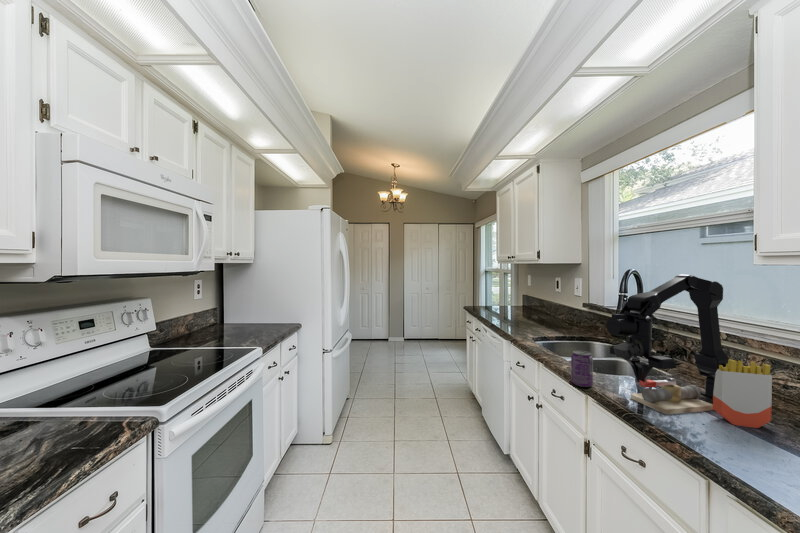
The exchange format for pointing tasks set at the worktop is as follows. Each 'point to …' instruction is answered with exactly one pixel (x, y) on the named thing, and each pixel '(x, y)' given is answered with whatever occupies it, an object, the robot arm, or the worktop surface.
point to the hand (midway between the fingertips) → (639, 382)
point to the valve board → (675, 406)
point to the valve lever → (657, 382)
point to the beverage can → (582, 368)
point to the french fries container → (743, 394)
